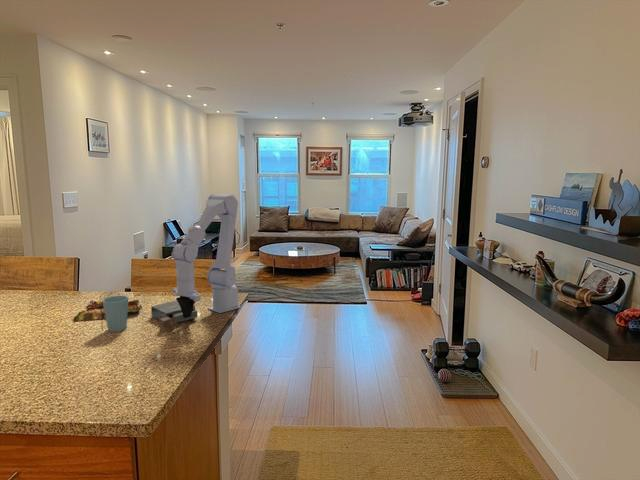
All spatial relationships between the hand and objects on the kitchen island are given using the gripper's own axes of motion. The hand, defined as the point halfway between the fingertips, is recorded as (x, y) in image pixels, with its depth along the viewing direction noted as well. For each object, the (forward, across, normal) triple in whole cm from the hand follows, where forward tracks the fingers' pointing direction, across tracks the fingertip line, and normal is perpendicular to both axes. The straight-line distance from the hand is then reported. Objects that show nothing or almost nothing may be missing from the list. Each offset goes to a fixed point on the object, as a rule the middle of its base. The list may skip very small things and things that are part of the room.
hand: (187, 317), depth 140 cm
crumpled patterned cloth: (+3, -32, -13) cm, 34 cm away
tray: (+1, -6, 0) cm, 6 cm away
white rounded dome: (+1, -5, 0) cm, 5 cm away
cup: (+3, -12, -18) cm, 22 cm away
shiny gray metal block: (+2, -10, 0) cm, 10 cm away
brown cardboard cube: (+2, 0, -8) cm, 8 cm away
